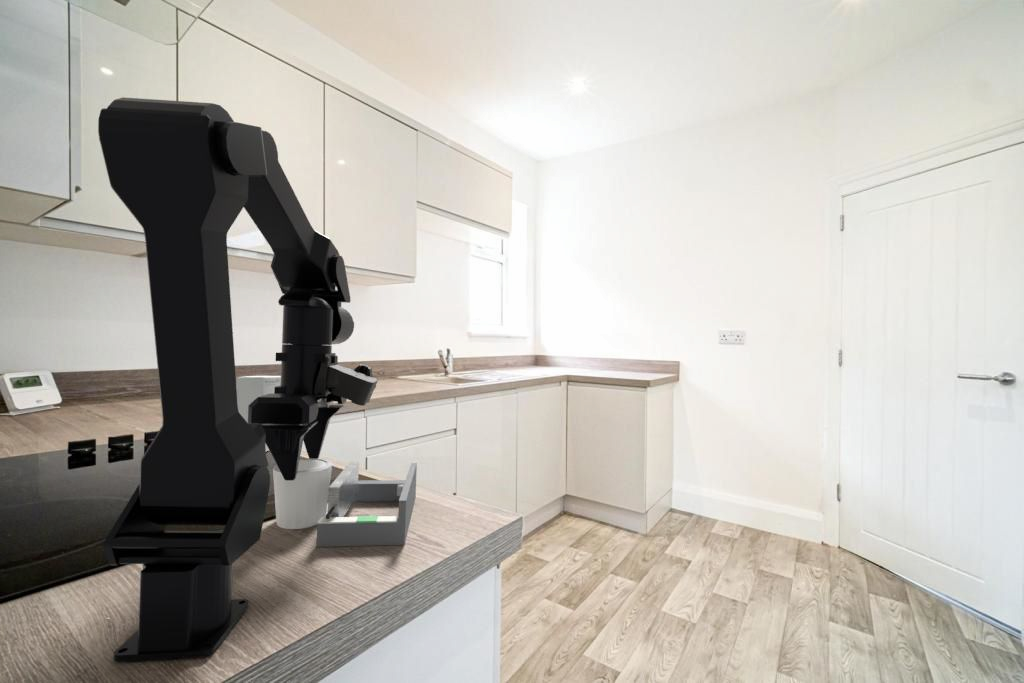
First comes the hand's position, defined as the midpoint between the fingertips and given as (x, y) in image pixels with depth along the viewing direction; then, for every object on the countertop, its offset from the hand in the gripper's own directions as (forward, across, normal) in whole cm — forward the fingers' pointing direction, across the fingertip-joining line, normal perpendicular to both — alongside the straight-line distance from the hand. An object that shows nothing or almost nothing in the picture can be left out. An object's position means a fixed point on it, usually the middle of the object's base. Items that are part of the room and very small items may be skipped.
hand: (302, 468), depth 57 cm
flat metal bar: (+5, -1, -5) cm, 7 cm away
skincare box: (+7, +37, +19) cm, 42 cm away
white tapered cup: (+7, 0, 0) cm, 7 cm away
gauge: (+6, 0, -8) cm, 11 cm away
